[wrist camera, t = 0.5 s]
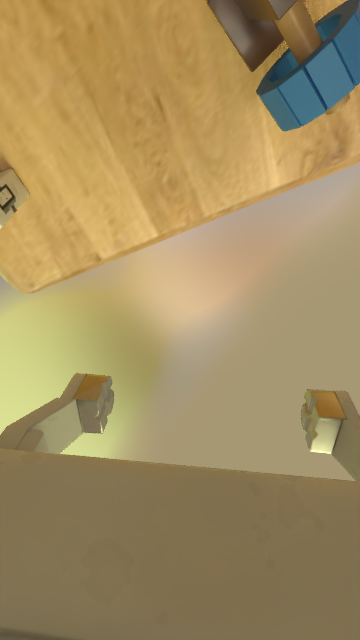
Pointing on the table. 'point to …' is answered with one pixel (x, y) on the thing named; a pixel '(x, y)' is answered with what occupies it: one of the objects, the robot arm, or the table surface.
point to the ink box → (10, 195)
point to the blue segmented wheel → (316, 71)
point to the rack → (269, 30)
